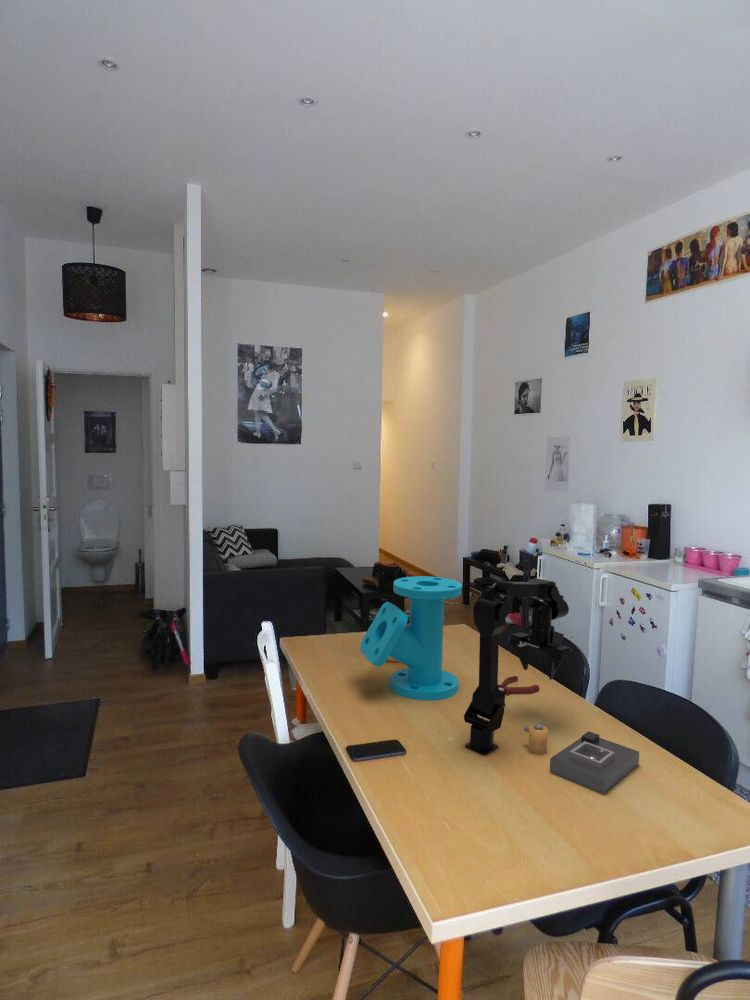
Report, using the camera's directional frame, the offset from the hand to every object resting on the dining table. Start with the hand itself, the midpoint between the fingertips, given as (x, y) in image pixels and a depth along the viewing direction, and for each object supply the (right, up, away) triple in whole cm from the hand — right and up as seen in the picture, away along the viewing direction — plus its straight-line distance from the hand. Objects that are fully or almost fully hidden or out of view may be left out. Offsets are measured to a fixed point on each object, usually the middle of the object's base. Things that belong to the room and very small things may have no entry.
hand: (538, 674), depth 185 cm
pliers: (-4, -13, +25) cm, 28 cm away
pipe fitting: (-36, -11, +24) cm, 44 cm away
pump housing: (-5, -15, -17) cm, 23 cm away
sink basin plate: (+8, -17, -26) cm, 32 cm away
